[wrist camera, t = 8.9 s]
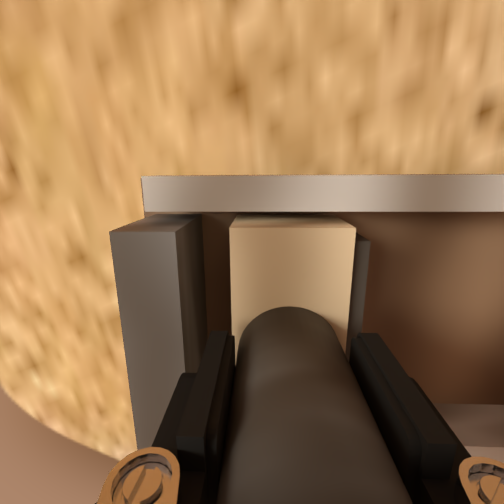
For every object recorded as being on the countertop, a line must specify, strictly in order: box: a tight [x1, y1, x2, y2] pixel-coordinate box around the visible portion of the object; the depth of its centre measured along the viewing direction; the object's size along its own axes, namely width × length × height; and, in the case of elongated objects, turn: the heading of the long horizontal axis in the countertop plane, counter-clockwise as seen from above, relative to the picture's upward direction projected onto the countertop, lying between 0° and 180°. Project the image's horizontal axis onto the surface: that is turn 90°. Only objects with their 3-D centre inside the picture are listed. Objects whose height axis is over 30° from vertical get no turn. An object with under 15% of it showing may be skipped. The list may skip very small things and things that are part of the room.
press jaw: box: [216, 215, 413, 504], centre depth 9 cm, size 5×9×10 cm, turn 0°
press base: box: [109, 174, 504, 463], centre depth 11 cm, size 24×12×8 cm, turn 90°
